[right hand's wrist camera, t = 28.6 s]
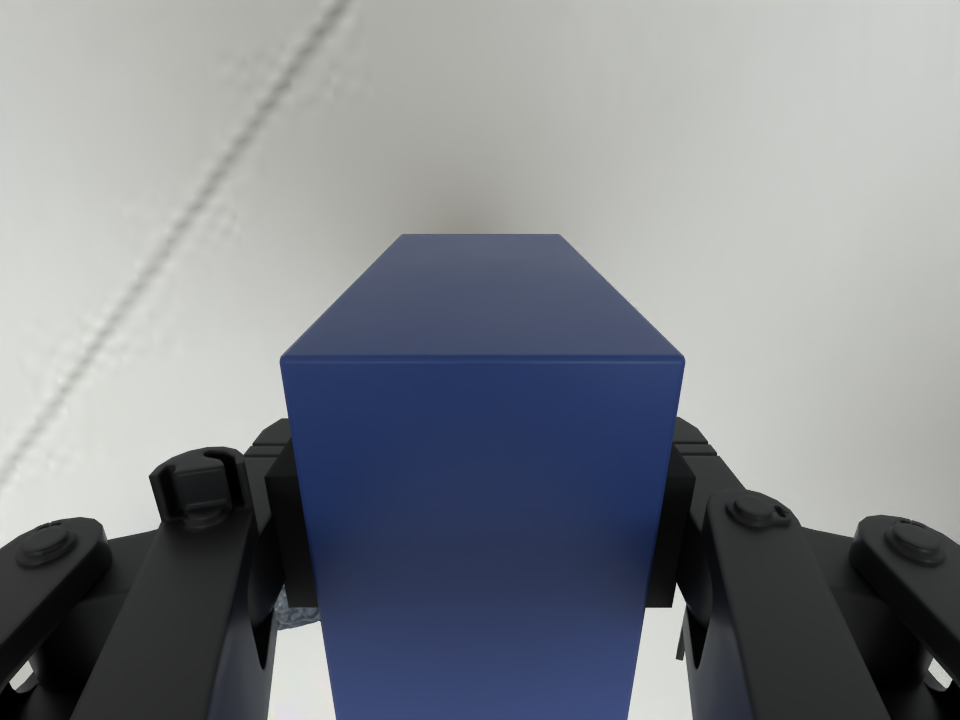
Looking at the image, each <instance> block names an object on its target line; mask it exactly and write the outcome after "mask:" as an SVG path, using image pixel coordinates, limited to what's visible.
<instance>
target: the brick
mask: <svg viewBox="0 0 960 720" xmlns="http://www.w3.org/2000/svg"><path fill="white" fill-rule="evenodd" d="M280 367H281V374H282V380H283V386H284V393H285V399H286V405H287V411H288V418H289V424H290V430H291V437H292V443H293V449H294V456H295V462H296V468H297V475H298V481H299V487H300V494H301V500H302V506H303V513H304V519H305V525H306V531H307V538H308V544H309V550H310V557H311V563H312V569H313V576H314V582H315V588H316V595H317V601H318V607H319V614H320V620H321V626H322V633H323V639H324V645H325V651H326V658H327V664H328V670H329V677H330V683H331V689H332V696H333V702H334V708H335V715H336V720H627V718H628V712H629V706H630V699H631V693H632V687H633V681H634V675H635V669H636V662H637V656H638V650H639V644H640V638H641V632H642V625H643V619H644V613H645V607H646V601H647V595H648V588H649V582H650V576H651V570H652V564H653V558H654V551H655V545H656V539H657V533H658V527H659V521H660V514H661V508H662V502H663V496H664V490H665V484H666V477H667V471H668V465H669V459H670V453H671V447H672V441H673V434H674V428H675V422H676V416H677V410H678V404H679V397H680V391H681V385H682V379H683V373H684V367H685V358H684V356H683V355H682V354H681V353H680V352H679V351H678V350H677V349H676V348H675V347H674V346H673V345H672V344H671V343H670V342H669V341H668V340H667V339H666V338H665V337H664V336H663V335H662V334H661V333H660V332H659V331H658V330H657V329H656V328H655V327H654V326H653V325H652V324H651V323H649V322H648V321H647V320H646V319H645V318H644V317H643V316H642V315H641V314H640V313H639V312H638V311H637V310H636V309H635V308H634V307H633V306H632V305H631V304H630V303H629V302H628V301H627V300H626V299H625V298H624V297H623V296H622V295H621V294H620V293H619V292H618V291H617V290H616V289H615V288H614V287H613V286H612V285H611V284H610V283H609V282H608V281H607V280H606V279H605V278H604V277H603V276H602V275H601V274H600V273H599V272H597V271H596V270H595V269H594V268H593V267H592V266H591V265H590V264H589V263H588V262H587V261H586V260H585V259H584V258H583V257H582V256H581V255H580V254H579V253H578V252H577V251H576V250H575V249H574V248H573V247H572V246H571V245H570V244H569V243H568V242H567V241H566V240H565V239H564V238H563V237H562V236H561V235H559V234H403V235H401V236H400V237H399V238H398V239H397V240H396V241H395V242H394V243H393V244H392V245H391V246H390V247H389V248H388V249H387V250H386V251H385V252H384V253H383V254H382V255H381V256H380V257H379V258H378V259H377V260H376V261H375V262H374V263H373V264H372V265H371V266H370V267H369V268H368V269H367V270H366V271H365V272H364V273H363V274H362V275H361V276H360V277H359V278H358V279H357V280H356V281H355V282H354V283H353V284H352V285H351V286H350V287H349V288H348V289H347V290H346V291H345V292H344V293H343V294H342V295H341V296H340V297H339V298H338V299H337V300H336V301H335V302H334V303H333V304H332V305H331V306H330V307H329V308H328V309H327V310H326V311H325V312H324V313H323V314H322V315H321V316H320V317H319V318H318V319H317V321H316V322H315V323H314V324H313V325H312V326H311V327H310V328H309V329H308V330H307V331H306V332H305V333H304V334H303V335H302V336H301V337H300V338H299V339H298V340H297V341H296V342H295V343H294V344H293V345H292V346H291V347H290V348H289V349H288V350H287V351H286V352H285V353H284V354H283V355H282V356H281V358H280Z"/></svg>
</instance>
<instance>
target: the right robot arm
mask: <svg viewBox="0 0 960 720" xmlns="http://www.w3.org/2000/svg"><path fill="white" fill-rule="evenodd" d="M149 479H150V483H151V486H152V490H153V493H154V496H155V500H156V503H157V507H158V510H159V514H160V517H161V524H160V526H159V528H158V529H157V530H153V531H149V532H144V533H140V534H135V535H130V536H125V537H120V538H115V539H110V540H107V537H106V534H105V532H104V529H103V526H102V524H100V523H99V522H98V521H96V520H95V519H91V518H83V517H77V518H69V519H61V520H57V521H52V522H51V523H46V524H43V525H40V526H38V527H36V528H35V529H33V530H30V531H28V532H26V533H24V534H22V535H20V536H18V537H17V538H15V539H14V540H12V541H11V542H9V543H8V544H7V545H5V546H4V547H2V548H1V549H0V720H267V717H268V708H269V699H270V690H271V682H272V673H273V664H274V655H275V646H276V637H277V629H278V626H277V619H276V613H275V608H274V605H275V603H276V600H277V598H278V596H279V594H280V592H281V589H282V587H283V585H284V586H285V591H286V596H287V602H288V607H289V608H319V607H318V601H317V595H316V588H315V582H314V576H313V569H312V563H311V557H310V550H309V544H308V538H307V531H306V525H305V519H304V513H303V506H302V500H301V494H300V487H299V481H298V475H297V468H296V462H295V456H294V449H293V443H292V437H291V430H290V424H289V418H282V419H280V420H278V421H277V422H275V423H274V424H272V425H270V426H269V427H267V428H266V429H264V430H263V431H262V432H261V434H260V435H259V436H258V437H257V439H256V440H255V441H254V442H253V446H250V447H249V449H248V450H247V451H246V453H245V454H244V455H243V454H242V453H240V452H239V451H238V450H236V449H232V448H228V447H206V448H201V449H196V450H191V451H188V452H185V453H183V454H180V455H177V456H175V457H172V458H170V459H169V460H167V461H166V462H164V463H162V464H161V465H159V466H158V467H157V468H156V469H155V470H154V471H153V472H152V473H151V474H150V475H149ZM676 582H677V584H678V586H679V588H680V591H681V593H682V595H683V597H684V599H685V601H686V608H685V613H684V618H683V623H682V628H681V633H680V638H679V643H678V648H677V655H676V659H678V660H682V661H683V657H684V652H685V654H686V663H687V671H688V680H689V689H690V698H691V707H692V716H693V720H960V545H958V544H957V543H955V542H954V541H953V540H951V539H950V538H948V537H947V536H945V535H944V534H942V533H940V532H938V531H936V530H934V529H932V528H929V527H927V526H926V525H924V524H922V523H919V522H916V521H913V520H912V521H911V520H910V519H906V518H901V517H894V516H886V515H876V516H869V517H866V518H865V519H863V520H862V521H861V522H859V524H858V527H857V530H856V533H855V536H854V538H851V537H846V536H842V535H837V534H832V533H827V532H822V531H817V530H812V529H809V528H805V527H801V525H800V523H799V521H798V519H797V518H796V517H795V515H794V514H793V513H792V511H791V510H790V509H788V508H787V507H786V506H784V505H783V504H781V503H780V502H779V501H777V500H775V499H773V498H771V497H768V496H766V495H764V494H762V493H759V492H755V491H751V490H746V489H745V488H744V486H743V485H742V484H741V483H740V481H739V480H738V479H737V478H736V476H735V475H734V474H733V472H732V471H731V470H730V469H729V467H728V466H727V465H726V464H725V462H724V461H723V460H722V459H721V457H720V456H717V452H716V451H715V450H714V449H713V447H712V446H711V445H710V444H708V441H707V440H706V439H705V437H704V436H703V435H702V434H701V432H700V431H699V430H698V429H697V428H696V427H694V426H693V425H691V424H690V423H688V422H686V421H685V420H683V419H682V418H680V417H676V422H675V428H674V434H673V441H672V447H671V453H670V459H669V465H668V471H667V477H666V484H665V490H664V496H663V502H662V508H661V514H660V521H659V527H658V533H657V539H656V545H655V551H654V558H653V564H652V570H651V576H650V582H649V588H648V595H647V601H646V607H645V608H672V604H673V598H674V593H675V588H676ZM933 657H934V659H935V660H936V661H937V662H938V663H939V664H940V665H941V667H942V668H943V669H944V670H945V671H946V672H947V673H948V675H949V676H950V677H951V678H952V679H953V680H952V682H951V684H950V686H949V687H948V688H947V689H946V688H944V687H943V686H942V685H941V684H940V683H939V682H938V681H937V680H936V679H935V678H934V676H933V675H932V674H931V673H930V672H929V670H928V668H929V666H930V664H931V662H932V660H933ZM27 661H29V663H30V665H31V667H32V669H33V671H34V672H33V673H32V674H31V675H30V676H29V678H28V679H27V680H26V681H25V682H24V683H23V684H22V685H21V686H20V687H19V688H17V689H16V690H14V689H12V687H11V685H10V683H9V681H10V680H11V679H12V678H13V677H14V676H15V674H16V673H17V672H18V671H19V670H20V669H21V668H22V666H23V665H24V664H25V663H26V662H27Z"/></svg>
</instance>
